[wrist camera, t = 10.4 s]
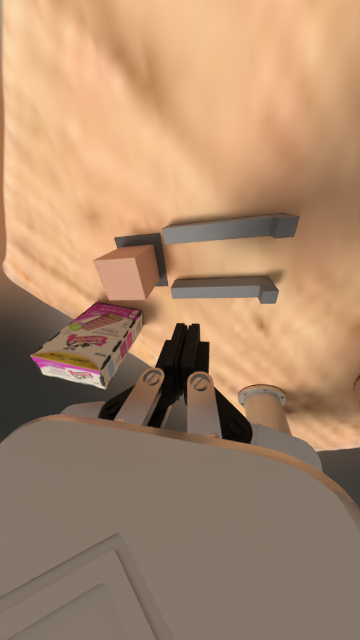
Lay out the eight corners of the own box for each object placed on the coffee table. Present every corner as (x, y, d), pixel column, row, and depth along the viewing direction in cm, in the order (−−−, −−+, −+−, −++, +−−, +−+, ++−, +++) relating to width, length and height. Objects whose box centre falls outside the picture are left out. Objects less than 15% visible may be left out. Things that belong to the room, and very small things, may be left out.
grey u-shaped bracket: (265, 287, 28) (275, 303, 23) (176, 289, 31) (170, 304, 27) (282, 213, 22) (299, 216, 17) (167, 225, 25) (158, 230, 20)
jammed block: (159, 279, 30) (145, 299, 24) (130, 280, 31) (109, 300, 25) (153, 244, 26) (134, 257, 20) (120, 247, 28) (92, 260, 21)
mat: (167, 285, 31) (167, 286, 31) (129, 287, 32) (129, 287, 32) (159, 233, 26) (159, 233, 25) (114, 237, 27) (114, 237, 27)
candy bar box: (142, 308, 35) (100, 371, 22) (143, 326, 38) (107, 390, 25) (94, 300, 36) (27, 356, 23) (99, 318, 39) (42, 376, 26)
